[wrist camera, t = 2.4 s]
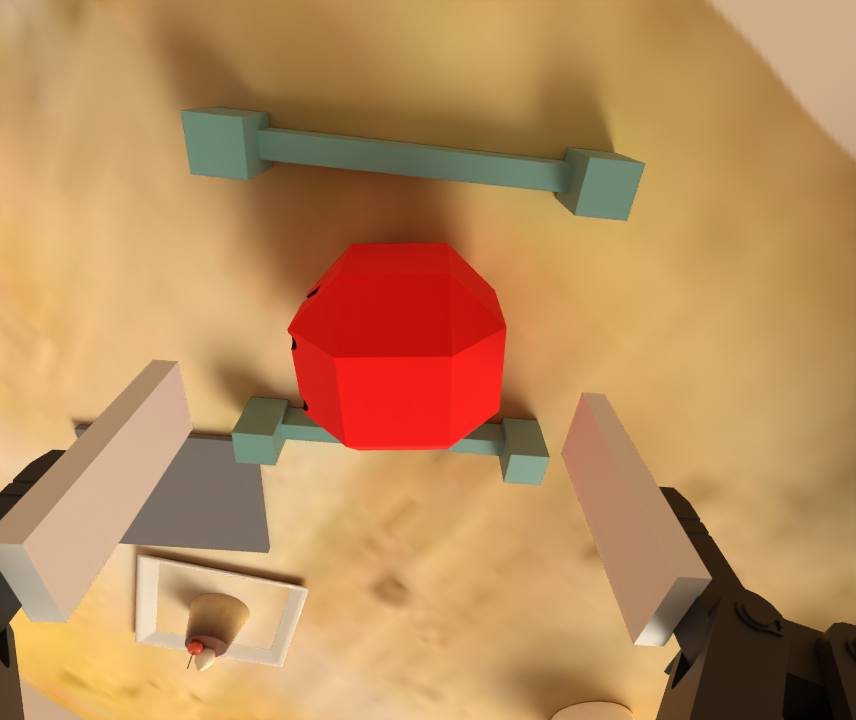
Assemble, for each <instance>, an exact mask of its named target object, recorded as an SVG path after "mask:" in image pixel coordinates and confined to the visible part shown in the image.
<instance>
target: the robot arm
mask: <svg viewBox="0 0 856 720" xmlns="http://www.w3.org/2000/svg"><path fill="white" fill-rule="evenodd" d="M192 429H193V427H192V422H191V417H190V413H189V408H188V404H187V399H186V394H185V390H184V385H183V381H182V376H181V371H180V367H179V362H178V361H165V360H152V361H151V362H150V364H149V365H148V366H147V367H146V368H145V369H144V370H143V371H142V372H141V373H140V374H139V375H138V376H137V377H136V378H135V379H134V380H133V381H132V382H131V384H130V385H129V386H128V387H127V388H126V389H125V390H124V391H123V392H122V393H121V394H120V395H119V396H118V397H117V398H116V399H115V400H114V401H113V402H112V404H111V405H110V406H109V407H108V408H107V409H106V410H105V411H104V412H103V413H102V414H101V415H100V416H99V417H98V418H97V419H96V420H95V421H94V422H93V424H92V425H91V426H90V427H89V428H88V429H87V430H86V431H85V432H84V433H83V434H82V435H81V436H80V437H79V438H78V439H77V440H76V441H75V442H74V444H73V445H72V446H71V447H70V448H69V449H68V450H51V451H49V452H48V453H46V454H44V455H43V456H41V457H39V458H38V459H36V460H34V461H33V462H31V463H30V464H29V465H28V466H27V467H26V468H24V469H23V470H22V471H21V472H20V473H19V474H18V475H17V476H16V477H15V478H14V479H13V482H12V483H9V484H8V485H7V486H6V487H5V488H4V489H3V490H2V491H1V492H0V720H24V712H23V704H22V696H21V688H20V680H19V672H18V664H17V656H16V648H15V640H14V632H13V630H12V628H11V626H10V624H9V622H10V621H11V619H12V618H13V617H14V615H15V614H16V613H17V612H18V610H19V609H20V608H21V607H22V609H23V610H24V612H25V613H26V615H27V617H28V618H29V620H30V621H31V622H56V623H67V622H68V620H69V619H70V617H71V616H72V614H73V613H74V611H75V609H76V608H77V606H78V605H79V603H80V602H81V600H82V599H83V597H84V596H85V594H86V593H87V591H88V589H89V588H90V586H91V585H92V583H93V582H94V580H95V579H96V577H97V576H98V574H99V572H100V571H101V569H102V568H103V566H104V565H105V563H106V562H107V560H108V559H109V557H110V556H111V554H112V552H113V551H114V549H115V548H116V546H117V545H118V543H119V542H120V540H121V539H122V537H123V536H124V534H125V532H126V531H127V529H128V528H129V526H130V525H131V523H132V522H133V520H134V519H135V517H136V515H137V514H138V512H139V511H140V509H141V508H142V506H143V505H144V503H145V502H146V500H147V499H148V497H149V495H150V494H151V492H152V491H153V489H154V488H155V486H156V485H157V483H158V482H159V480H160V479H161V477H162V475H163V474H164V472H165V471H166V469H167V468H168V466H169V465H170V463H171V462H172V460H173V458H174V457H175V455H176V454H177V452H178V451H179V449H180V448H181V446H182V445H183V443H184V442H185V440H186V438H187V437H188V435H189V434H190V432H191V431H192ZM561 454H562V457H563V459H564V462H565V465H566V467H567V470H568V473H569V475H570V478H571V481H572V483H573V486H574V489H575V491H576V494H577V497H578V499H579V502H580V504H581V507H582V510H583V512H584V515H585V518H586V520H587V523H588V526H589V528H590V531H591V534H592V536H593V539H594V542H595V544H596V547H597V550H598V552H599V555H600V557H601V560H602V563H603V565H604V568H605V571H606V573H607V576H608V579H609V581H610V584H611V587H612V589H613V592H614V595H615V597H616V600H617V603H618V605H619V608H620V610H621V613H622V616H623V618H624V621H625V624H626V626H627V629H628V632H629V634H630V637H631V640H632V642H633V645H648V646H664V645H665V644H666V642H667V641H668V640H669V638H670V637H671V635H672V634H673V633H674V635H675V637H676V639H677V641H678V643H679V646H680V648H681V650H680V651H679V652H678V653H677V655H676V656H675V657H674V659H673V660H672V661H671V663H670V664H669V665H668V667H667V668H666V670H665V671H664V672H665V673H666V674H668V675H669V674H670V677H669V680H668V683H667V686H666V689H665V692H664V695H663V699H662V702H661V705H660V708H659V711H658V714H657V718H656V720H856V626H855V625H852V624H848V623H844V622H842V623H834V624H833V625H832V626H831V627H830V628H829V629H828V630H827V631H826V632H825V633H823V632H820V631H817V630H814V629H811V628H809V627H806V626H803V625H800V624H797V623H794V622H791V621H788V620H786V619H783V617H782V615H781V614H780V613H779V612H778V611H777V610H776V609H775V608H774V606H773V605H772V604H771V603H769V602H768V601H766V600H765V599H764V598H762V597H761V596H760V595H758V594H756V593H753V592H751V591H749V590H747V589H745V588H744V587H743V586H742V584H741V582H740V581H739V579H738V578H737V576H736V575H735V573H734V571H733V570H732V568H731V567H730V565H729V564H728V562H727V561H726V559H725V557H724V556H723V554H722V553H721V551H720V550H719V548H718V546H717V545H716V543H715V542H714V540H713V539H712V537H711V536H709V535H708V533H709V532H708V531H707V529H706V528H705V526H704V524H703V523H702V522H700V518H699V517H698V515H697V513H696V512H695V510H694V509H693V507H692V506H691V504H690V502H688V501H687V500H686V499H685V498H684V497H683V496H682V495H681V494H680V493H679V492H678V491H677V490H675V489H674V488H671V487H658V485H657V483H656V482H655V480H654V478H653V476H652V475H651V473H650V471H649V470H648V468H647V466H646V465H645V463H644V461H643V459H642V458H641V456H640V454H639V453H638V451H637V449H636V447H635V446H634V444H633V442H632V441H631V439H630V437H629V435H628V434H627V432H626V430H625V429H624V427H623V425H622V423H621V422H620V420H619V418H618V417H617V415H616V413H615V412H614V410H613V408H612V406H611V405H610V403H609V401H608V400H607V398H606V396H605V394H595V393H582V395H581V397H580V400H579V403H578V406H577V409H576V412H575V415H574V418H573V421H572V424H571V426H570V429H569V432H568V435H567V438H566V441H565V444H564V447H563V450H562V452H561Z"/></svg>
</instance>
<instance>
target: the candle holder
mask: <svg viewBox="0 0 856 720" xmlns="http://www.w3.org/2000/svg"><path fill="white" fill-rule="evenodd" d="M551 720H635V718H634V716H633V714H632V712H631V711H630V710H629V709H628V708H626V707H624V706H622V705H620V704H616V703H611V702H585V703H579V704H575V705H572V706H569V707H566V708H564V709H562V710H560V711H559V712H557V713H556V714H555V715H554V716H553V717H552V719H551Z"/></svg>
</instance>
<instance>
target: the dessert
mask: <svg viewBox="0 0 856 720" xmlns="http://www.w3.org/2000/svg"><path fill="white" fill-rule="evenodd" d="M160 563H164V564H169V565H175V566H180V567H185V568H190V569H195V570H200V571H205V572H210V573H215V574H220V575H225V576H230V577H235V578H240V579H246V580H251V581H256V582H261V583H266V584H271V585H276V586H281V587H286V588H290V589H291V590H290V593H289V596H288V599H287V602H286V605H285V608H284V611H283V614H282V617H281V621H280V624H279V627H278V630H277V633H276V636H275V639H274V642H273V645H272V648H271V649H270V650H267V649H262V648H256V647H250V646H244V645H238V644H232V642H233V641H234V639H235V637H236V636H237V634H238V633H239V631H240V630H241V628H242V627H243V625H244V624H245V622H246V621H247V619H248V618H249V615H250V612H249V609H248V607H247V606H246V605H245V604H244V603H243V602H242V601H240V600H239V599H237V598H234V597H232V596H229V595H225V594H219V593H208V594H203V595H200V596H197V597H196V598H194V599H193V600H192V602H191V606H190V614H189V620H188V625H187V631H186V635H180V634H174V633H168V632H162V631H157V630H156V615H157V599H158V582H159V566H160ZM308 592H309V589H308V588H307V587H303V586H300V585H296V584H291V583H286V582H281V581H276V580H271V579H265V578H260V577H255V576H250V575H245V574H240V573H235V572H230V571H225V570H220V569H215V568H210V567H205V566H200V565H195V564H190V563H185V562H180V561H175V560H170V559H165V558H160V557H155V556H147V555H138V556H137V587H136V624H135V642H136V643H141V644H147V645H153V646H159V647H165V648H171V649H177V650H183V651H188V652H189V653H190V654H192V655H196V656H195V665H196V667H197V670H198V671H201V670H204V669H206V668H208V667H210V666H211V665H212V663H213V662H214V659H215V657H224V658H230V659H236V660H242V661H248V662H254V663H260V664H266V665H272V666H278V667H282V665H283V662H284V659H285V656H286V654H287V651H288V648H289V645H290V642H291V640H292V637H293V634H294V631H295V628H296V626H297V623H298V620H299V617H300V614H301V612H302V609H303V606H304V603H305V600H306V598H307V595H308ZM191 658H192V656H191ZM190 661H191V659H190ZM190 661H189V664H190ZM189 664H188V667H189ZM188 667H187V669H188Z"/></svg>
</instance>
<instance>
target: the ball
mask: <svg viewBox="0 0 856 720" xmlns="http://www.w3.org/2000/svg"><path fill="white" fill-rule="evenodd" d="M306 297H307V298H308V299H307V300H306V301H304V302H303V303H302V305H301V306H300V308H299V310H298V312H297V313H296V315H295V317H294V319H293V320H292V322H291V324H290V326H289V327H288V333H289V334H290V335H291V336H292V341H293V342H292V348H291V350H292V355H293V360H294V366H295V371H296V376H297V381H298V386H299V392H300V396H301V397H302V398H303V399H304V407H303V413H305V414H306V415H307V416H308V417H310V418H311V419H312V420H313V421H315V422H316V423H317V424H318V425H320V426H321V427H322V428H323V429H325V430H326V431H327V432H328V433H330V434H331V435H332V436H333V437H335V438H336V439H337V440H339V441H340V442H341V443H342V444H344V445H345V446H346V447H349V448H352V449H356V450H448V449H449V448H451V447H452V446H453V445H455V444H456V443H457V442H459V441H460V440H461V439H463V438H464V437H465V436H467V435H468V434H469V433H471V432H472V431H473V430H475V429H476V428H477V427H479V426H480V425H481V424H482V423H484V422H485V421H486V420H488V419H489V418H490V417H492V416H493V415H494V414H496V413H497V412H498V411H499V407H500V395H501V384H502V373H503V361H504V350H505V339H506V324H505V321H504V318H503V315H502V311H501V308H500V305H499V302H498V299H497V296H496V293H495V290H494V289H493V288H492V287H491V286H490V285H489V284H488V283H487V282H486V281H485V280H484V279H483V278H482V277H481V276H480V275H479V274H478V273H477V272H476V271H475V270H474V269H473V268H472V267H471V266H470V265H469V264H468V263H467V262H466V261H465V260H464V259H463V258H462V257H461V256H460V255H459V254H458V253H457V252H456V251H454V250H453V249H452V248H451V247H450V246H449V245H448V244H447V243H385V244H352V245H351V246H350V247H349V248H348V249H347V250H346V251H345V253H344V254H343V255H342V256H341V257H340V258H339V259H338V260H337V261H336V263H335V264H334V265H333V266H332V267H331V268H330V269H329V270H328V271H327V272H326V274H325V275H324V276H323V277H322V278H321V279H320V280H319V281H318V282H317V284H316V285H315V286H314V287H313V288H312V289H311V290H310V291H309V293H308V294H307V296H306Z"/></svg>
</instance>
